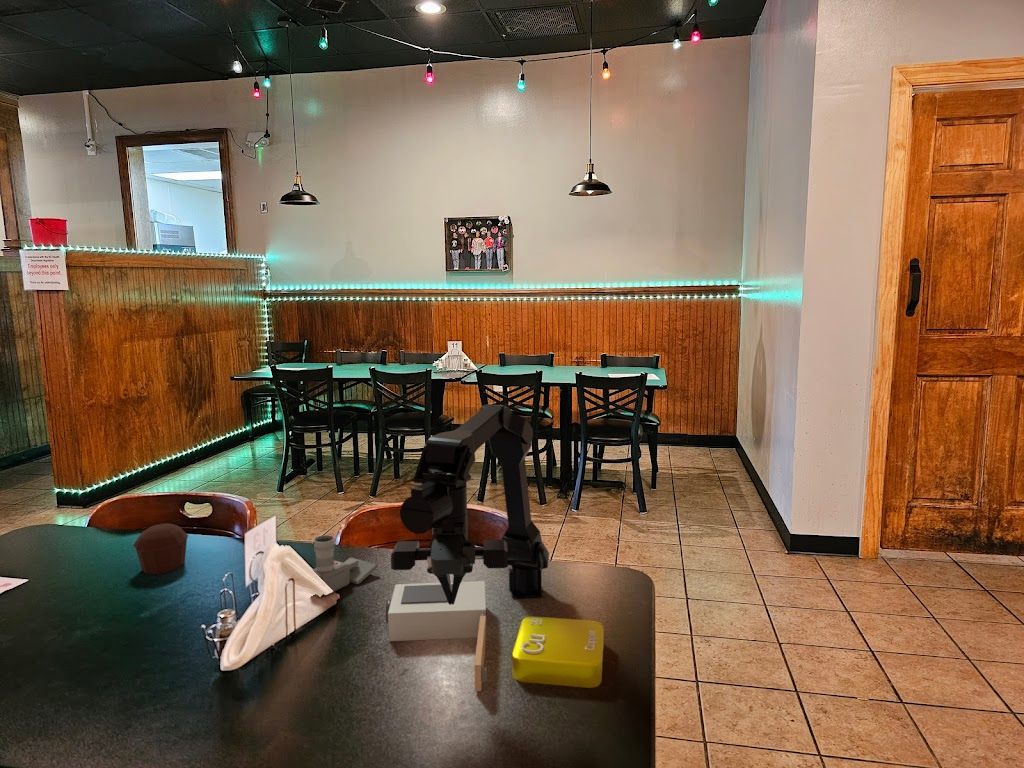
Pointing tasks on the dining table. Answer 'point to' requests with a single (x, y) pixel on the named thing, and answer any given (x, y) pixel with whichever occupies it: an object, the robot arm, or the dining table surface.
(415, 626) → the white box
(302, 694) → the dining table surface
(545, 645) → the element tile
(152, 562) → the muffin
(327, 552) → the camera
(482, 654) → the side door
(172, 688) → the dining table surface
